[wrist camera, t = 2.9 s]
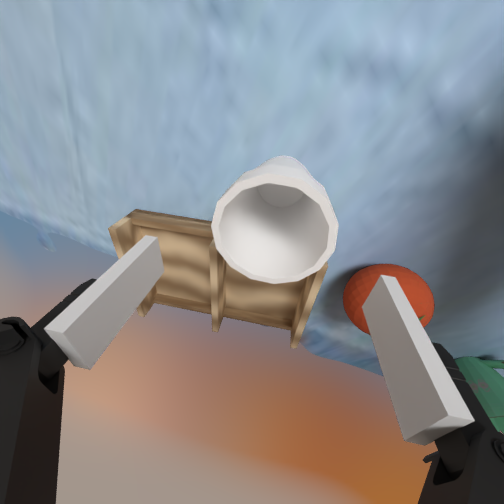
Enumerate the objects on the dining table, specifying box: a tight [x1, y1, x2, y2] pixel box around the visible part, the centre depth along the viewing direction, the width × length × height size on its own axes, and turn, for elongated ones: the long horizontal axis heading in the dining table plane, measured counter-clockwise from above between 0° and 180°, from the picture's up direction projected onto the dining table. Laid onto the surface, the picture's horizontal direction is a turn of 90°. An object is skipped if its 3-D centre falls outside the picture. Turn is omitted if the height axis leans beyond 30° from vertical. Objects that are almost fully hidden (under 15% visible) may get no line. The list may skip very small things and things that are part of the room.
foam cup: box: [211, 155, 338, 284], centre depth 22 cm, size 10×9×13 cm
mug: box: [455, 357, 504, 434], centre depth 35 cm, size 15×10×10 cm
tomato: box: [343, 264, 434, 335], centre depth 28 cm, size 10×10×10 cm
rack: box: [108, 209, 328, 348], centre depth 34 cm, size 18×28×6 cm, turn 85°
